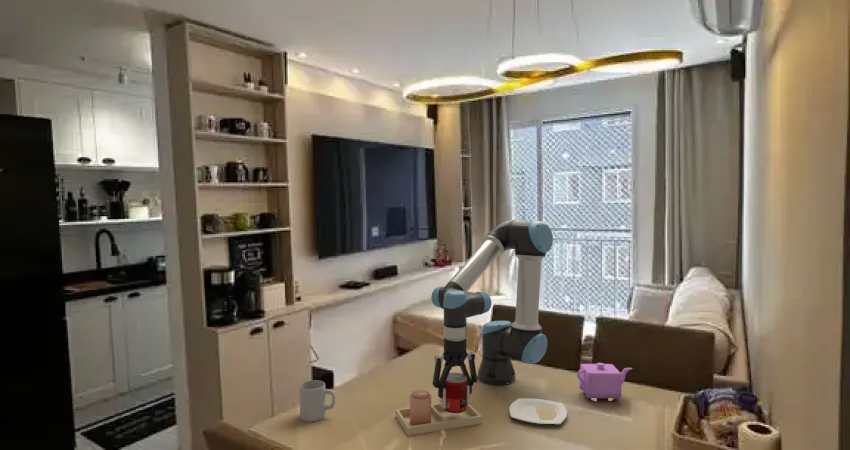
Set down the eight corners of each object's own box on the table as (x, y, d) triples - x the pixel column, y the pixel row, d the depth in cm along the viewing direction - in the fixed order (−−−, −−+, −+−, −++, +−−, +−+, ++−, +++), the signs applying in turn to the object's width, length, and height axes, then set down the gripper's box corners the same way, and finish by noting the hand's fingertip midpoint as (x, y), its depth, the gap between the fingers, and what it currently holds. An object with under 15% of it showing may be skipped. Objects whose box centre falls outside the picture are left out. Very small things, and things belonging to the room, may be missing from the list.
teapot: (580, 402, 181) (581, 368, 180) (573, 391, 191) (573, 358, 190) (637, 403, 180) (637, 368, 180) (626, 392, 190) (627, 359, 190)
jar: (427, 416, 168) (427, 388, 168) (434, 425, 162) (434, 395, 161) (407, 419, 166) (407, 390, 166) (413, 429, 160) (413, 398, 159)
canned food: (465, 414, 163) (465, 381, 162) (441, 412, 165) (441, 379, 164) (468, 405, 171) (468, 373, 170) (445, 403, 172) (445, 371, 172)
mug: (296, 421, 166) (295, 389, 166) (304, 410, 175) (304, 379, 174) (332, 422, 166) (331, 390, 165) (338, 411, 174) (338, 380, 173)
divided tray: (464, 407, 177) (464, 399, 176) (481, 425, 163) (481, 416, 163) (395, 418, 169) (395, 409, 168) (407, 437, 155) (407, 428, 155)
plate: (568, 408, 177) (569, 402, 177) (565, 432, 159) (565, 426, 159) (514, 400, 183) (514, 395, 183) (504, 423, 165) (504, 417, 165)
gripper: (478, 332, 173) (478, 396, 174) (421, 337, 166) (422, 405, 168) (488, 338, 166) (488, 405, 167) (429, 344, 159) (429, 414, 161)
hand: (455, 405), depth 168 cm, fingers closed on canned food, 8 cm apart
